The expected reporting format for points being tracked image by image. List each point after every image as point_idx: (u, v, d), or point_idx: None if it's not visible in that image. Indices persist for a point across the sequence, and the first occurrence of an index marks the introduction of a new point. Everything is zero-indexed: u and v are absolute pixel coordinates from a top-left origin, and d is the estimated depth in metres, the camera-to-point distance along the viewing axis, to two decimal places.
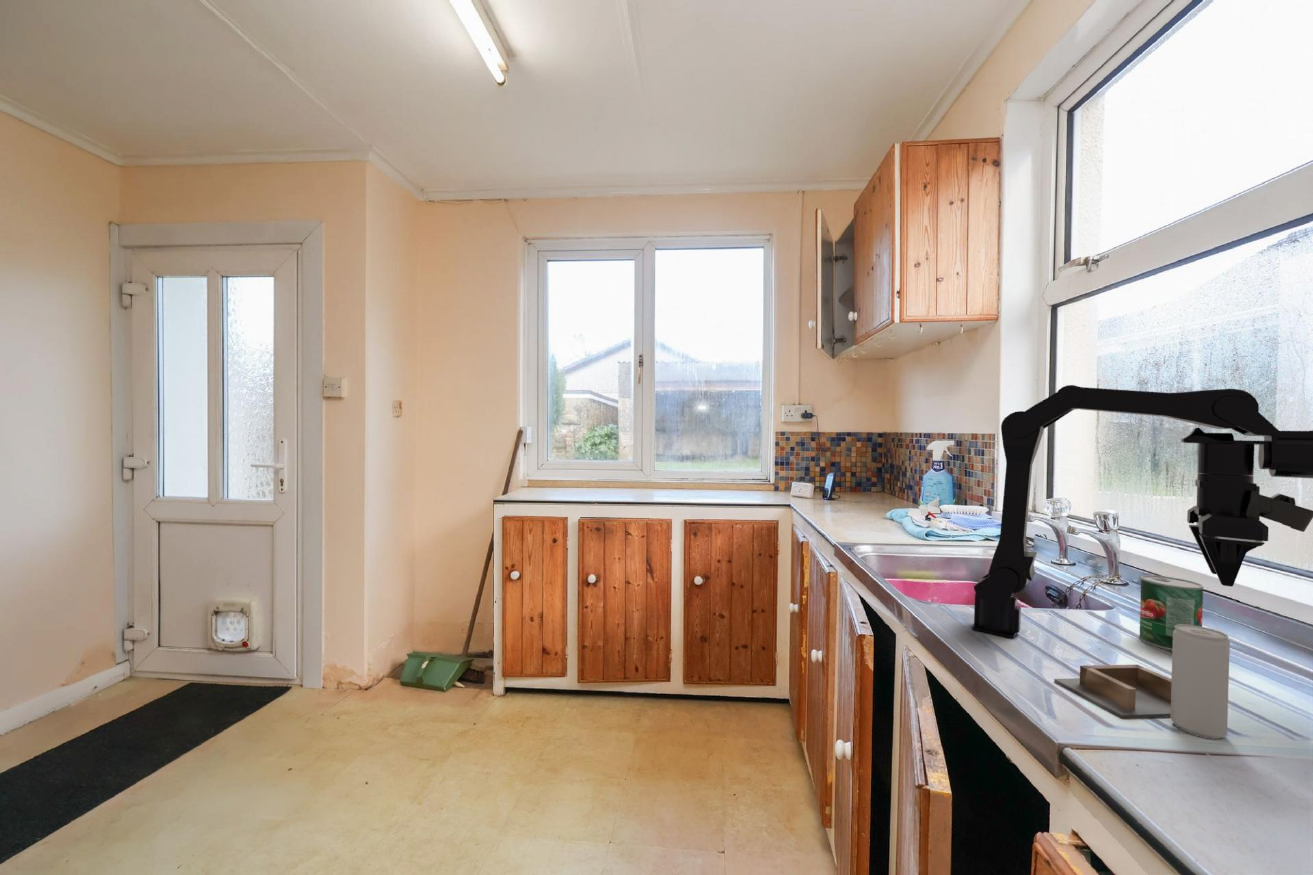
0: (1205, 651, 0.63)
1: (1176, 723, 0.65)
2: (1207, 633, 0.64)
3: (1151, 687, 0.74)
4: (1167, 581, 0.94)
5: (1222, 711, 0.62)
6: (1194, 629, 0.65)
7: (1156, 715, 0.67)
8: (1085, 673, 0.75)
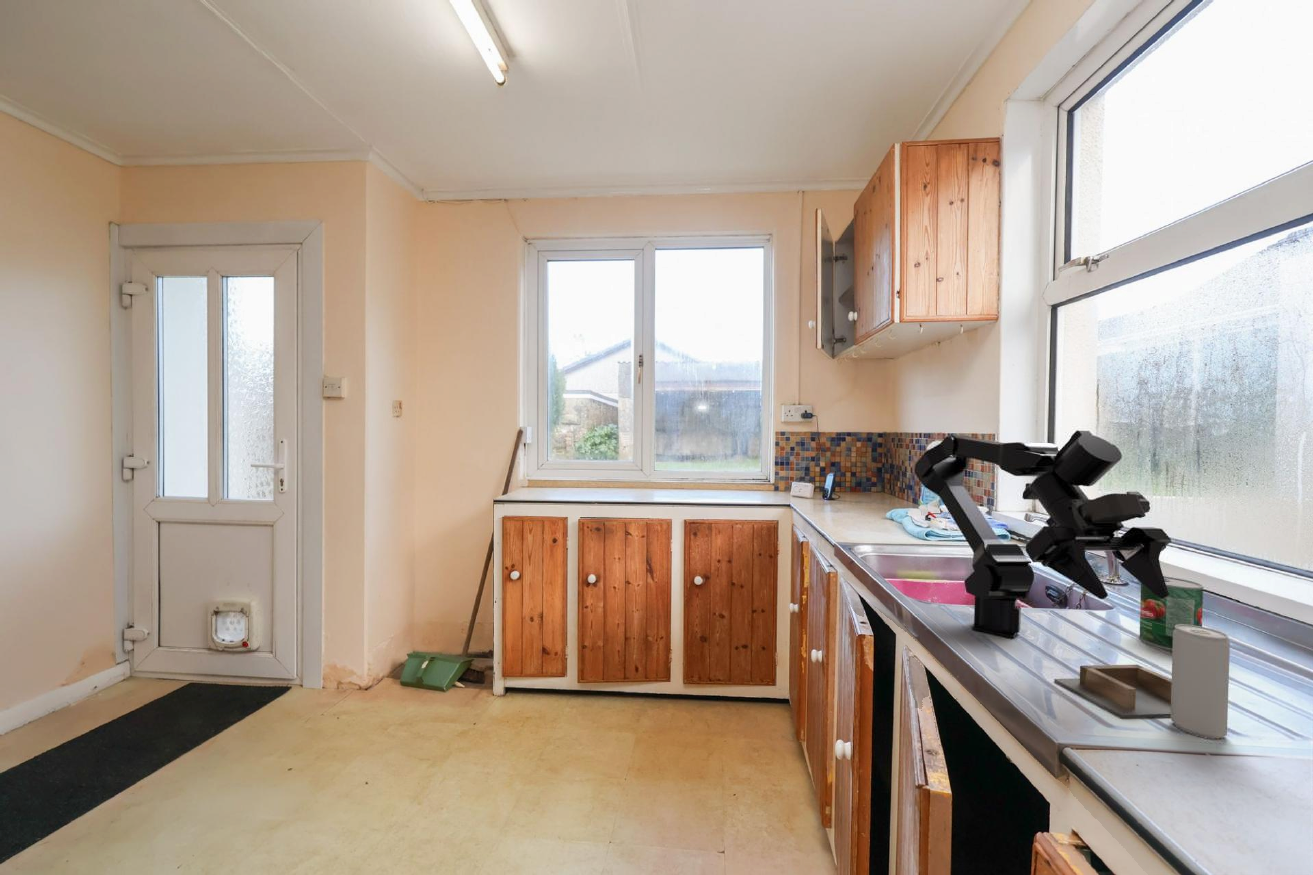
0: (1205, 651, 0.63)
1: (1176, 723, 0.65)
2: (1207, 633, 0.64)
3: (1151, 687, 0.74)
4: (1167, 581, 0.94)
5: (1222, 711, 0.62)
6: (1194, 629, 0.65)
7: (1156, 715, 0.67)
8: (1085, 673, 0.75)
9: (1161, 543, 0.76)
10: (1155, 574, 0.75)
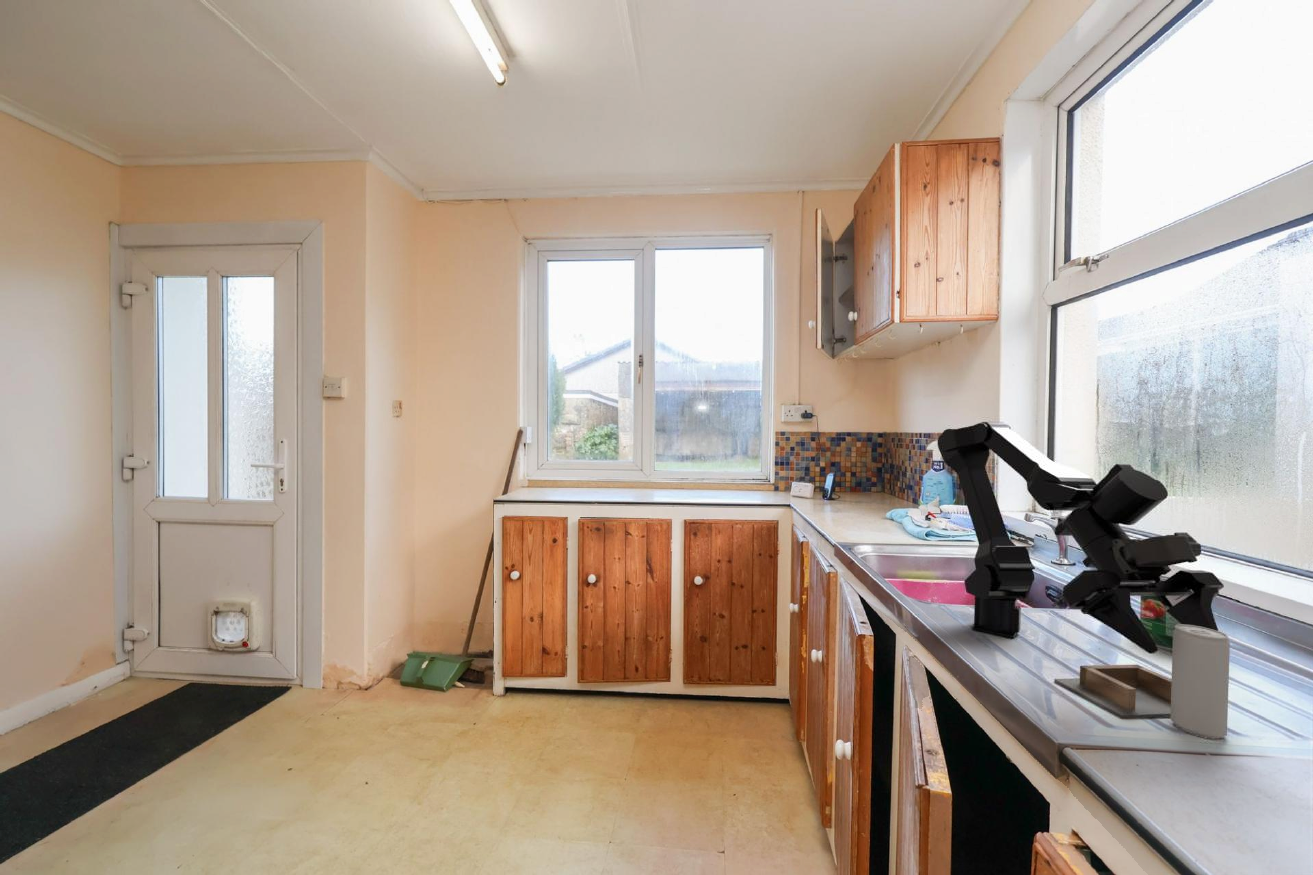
0: (1205, 651, 0.63)
1: (1176, 723, 0.65)
2: (1207, 633, 0.64)
3: (1151, 687, 0.74)
4: None
5: (1222, 711, 0.62)
6: (1194, 629, 0.65)
7: (1156, 715, 0.67)
8: (1085, 673, 0.75)
9: (1213, 589, 0.69)
10: (1208, 624, 0.68)
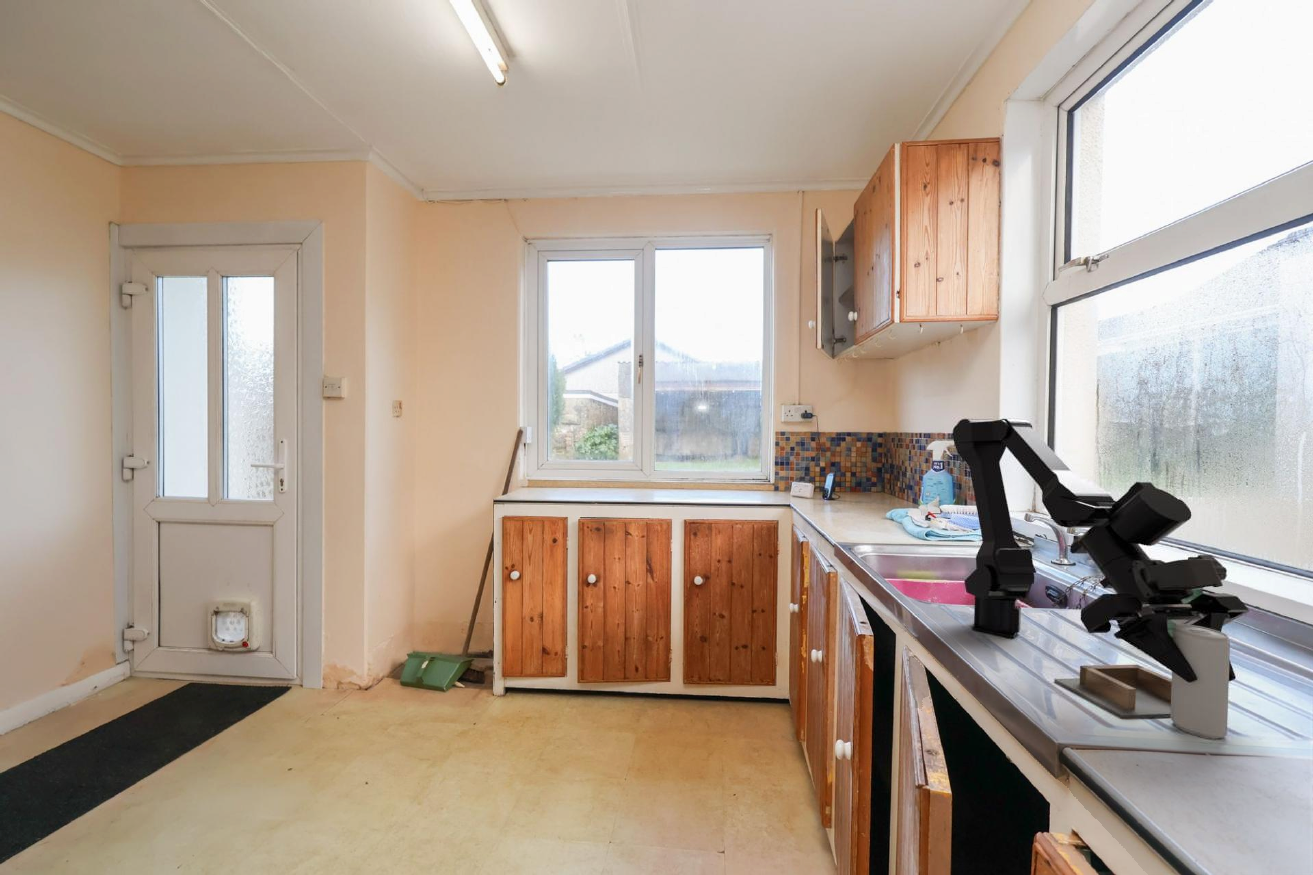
0: (1205, 651, 0.63)
1: (1176, 723, 0.65)
2: (1207, 633, 0.64)
3: (1151, 687, 0.74)
4: None
5: (1222, 711, 0.62)
6: (1194, 629, 0.65)
7: (1156, 715, 0.67)
8: (1085, 673, 0.75)
9: (1224, 615, 0.66)
10: None
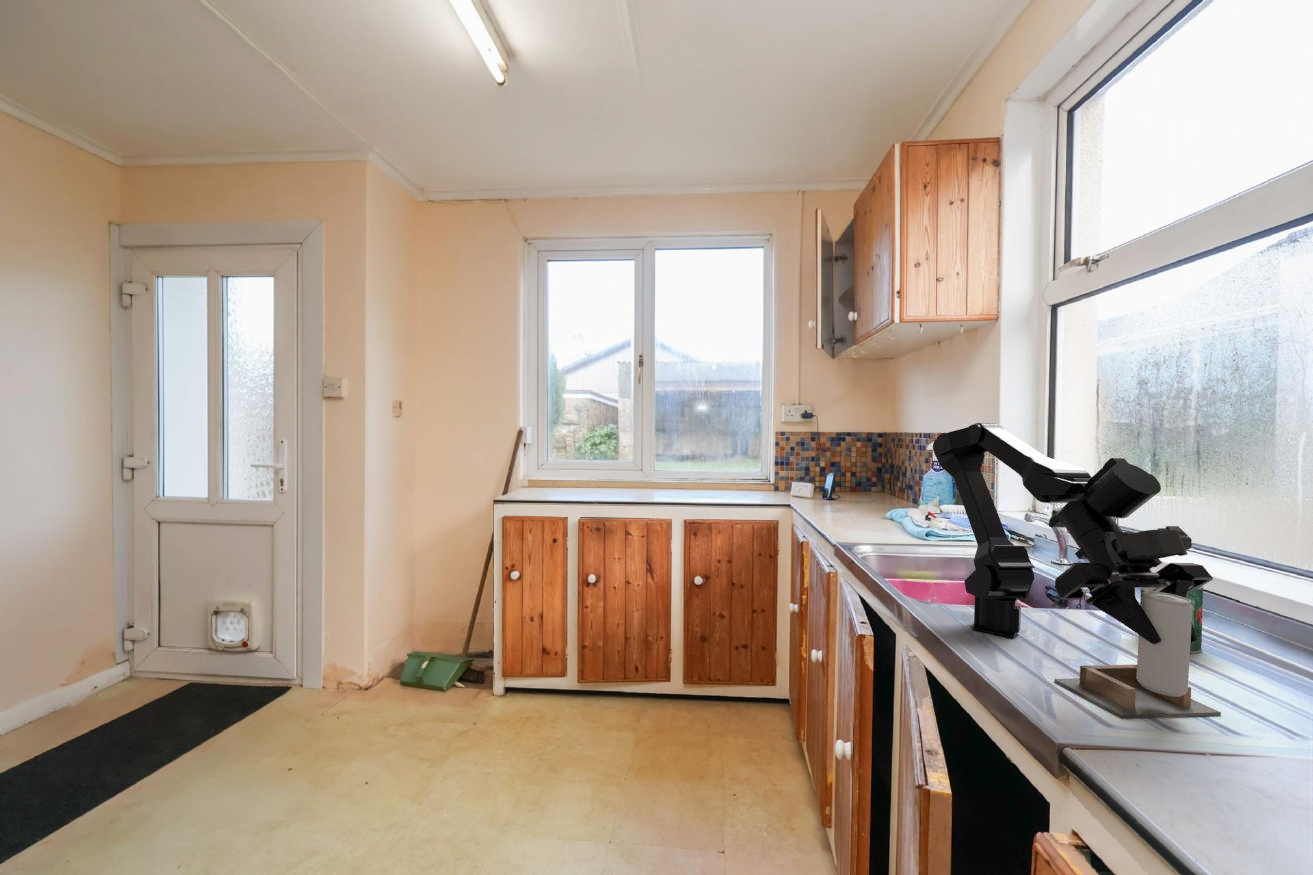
0: (1169, 615, 0.67)
1: (1141, 682, 0.69)
2: (1172, 598, 0.68)
3: None
4: None
5: (1183, 670, 0.67)
6: (1160, 595, 0.70)
7: (1156, 715, 0.67)
8: (1085, 673, 0.75)
9: (1188, 582, 0.71)
10: None
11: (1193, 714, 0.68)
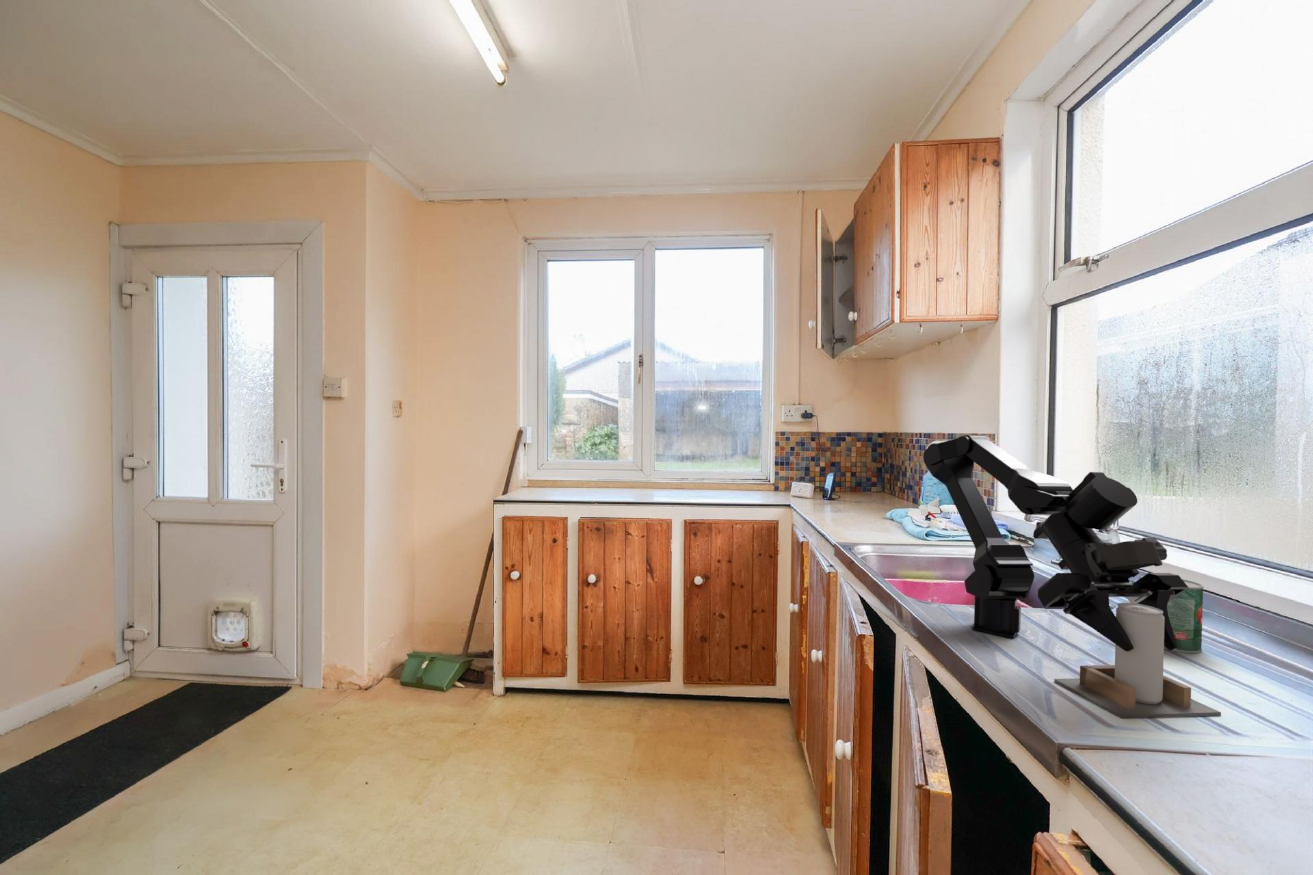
0: (1142, 625, 0.70)
1: None
2: (1145, 609, 0.71)
3: None
4: None
5: (1157, 678, 0.70)
6: (1134, 606, 0.73)
7: (1156, 715, 0.67)
8: (1085, 673, 0.75)
9: (1169, 591, 0.73)
10: None
11: (1193, 714, 0.68)
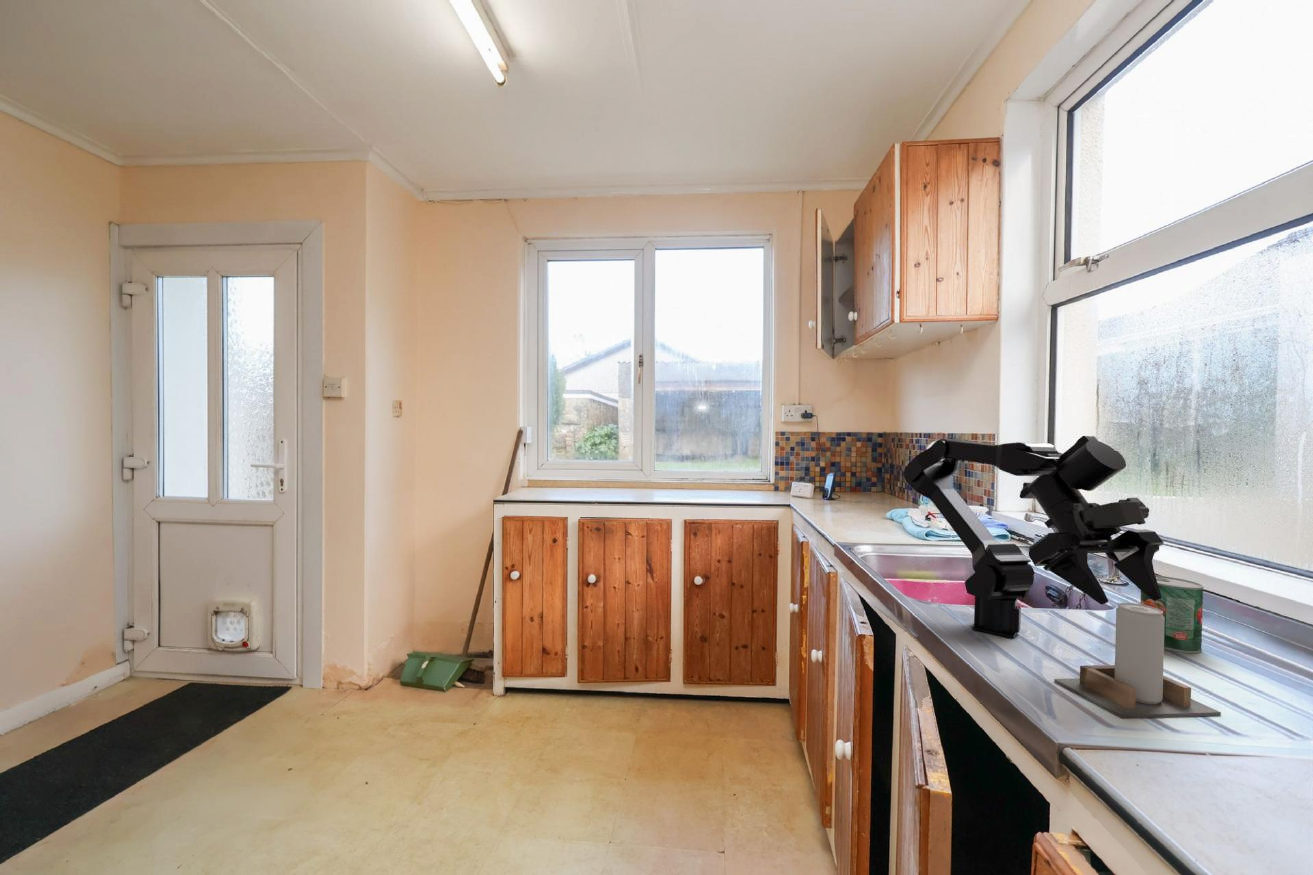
0: (1142, 625, 0.70)
1: None
2: (1145, 610, 0.71)
3: None
4: (1167, 581, 0.94)
5: (1157, 679, 0.69)
6: (1134, 606, 0.73)
7: (1156, 715, 0.67)
8: (1085, 673, 0.75)
9: (1155, 546, 0.79)
10: (1149, 577, 0.78)
11: (1193, 714, 0.68)
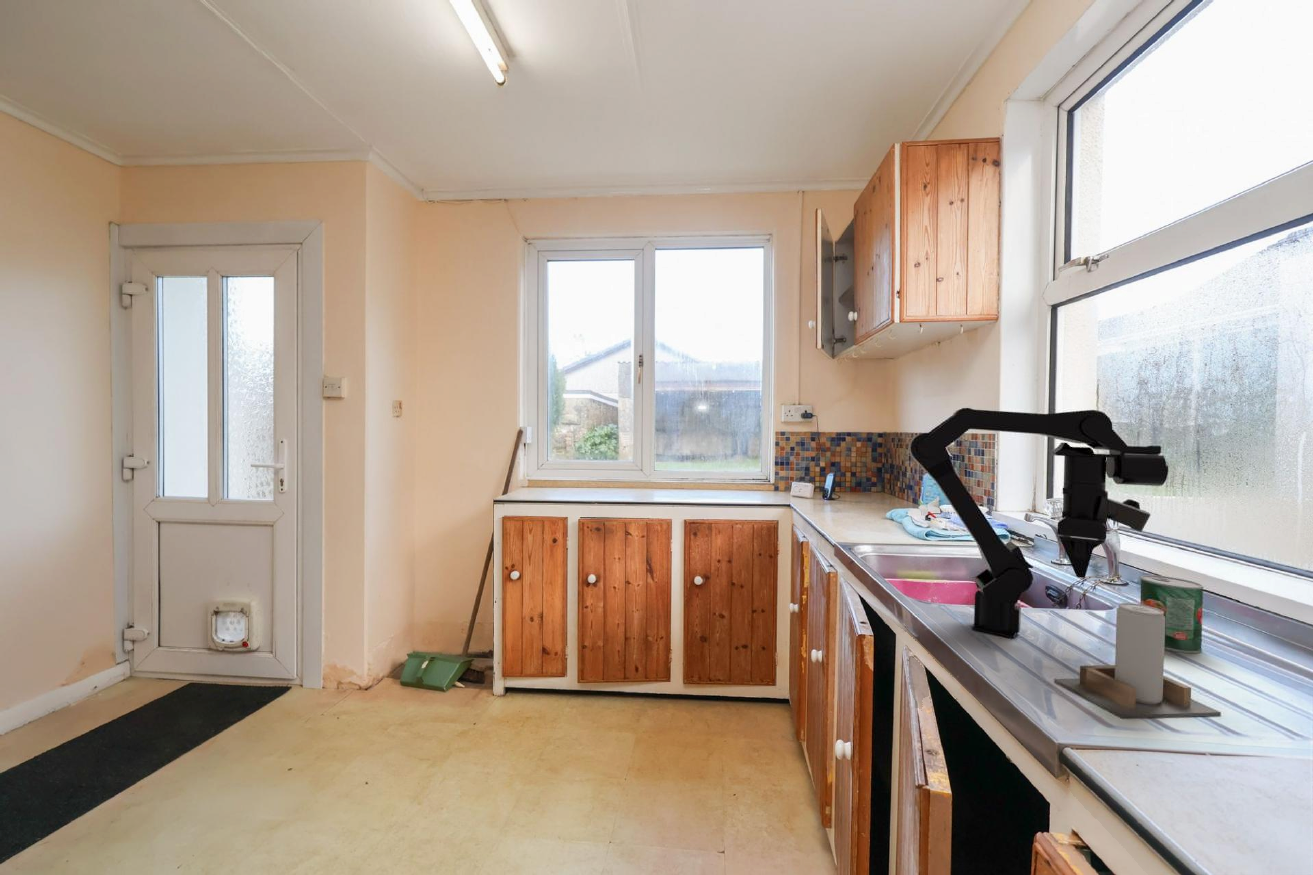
0: (1143, 626, 0.70)
1: None
2: (1146, 610, 0.71)
3: None
4: (1167, 581, 0.94)
5: (1157, 679, 0.69)
6: (1135, 607, 0.73)
7: (1156, 715, 0.67)
8: (1085, 673, 0.75)
9: None
10: None
11: (1193, 714, 0.68)
